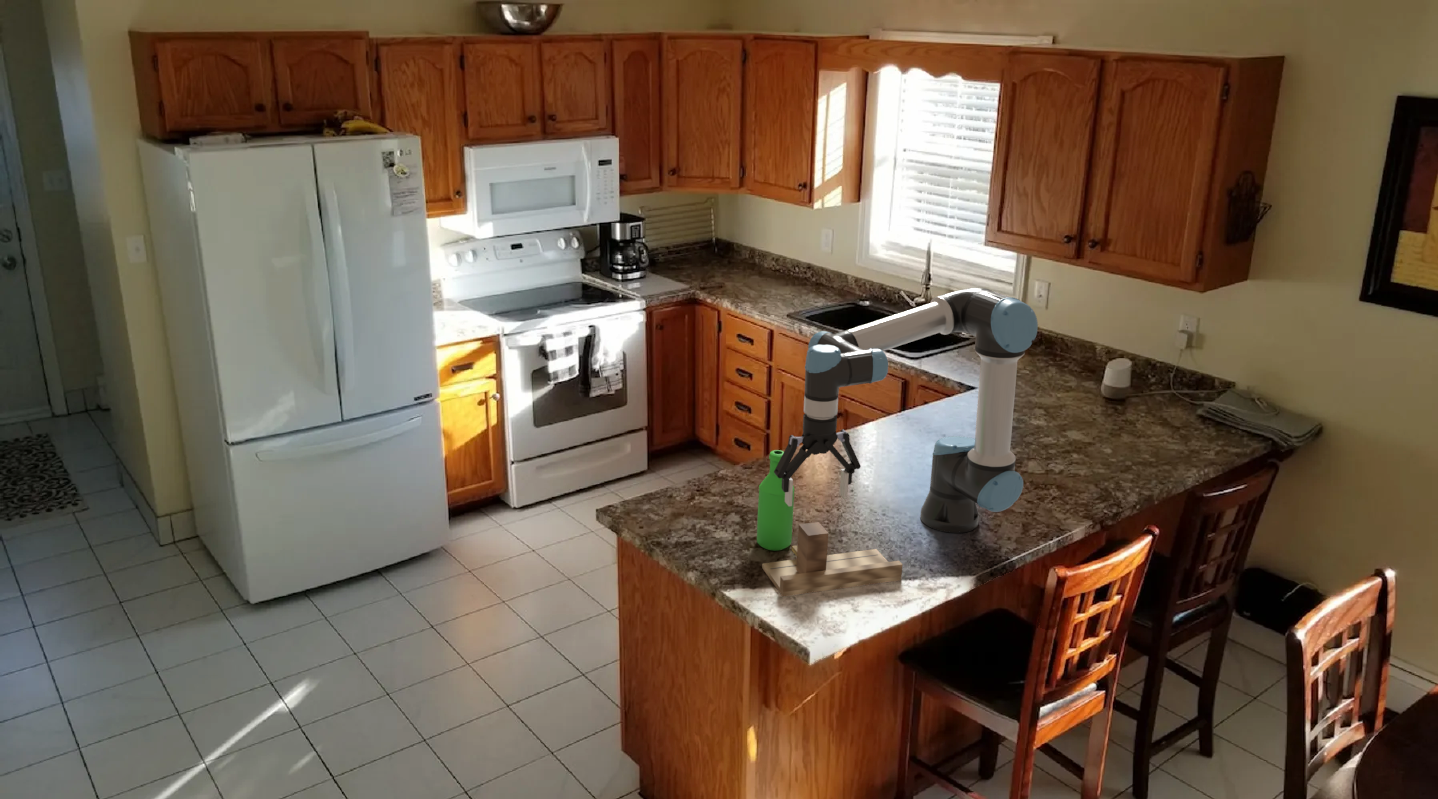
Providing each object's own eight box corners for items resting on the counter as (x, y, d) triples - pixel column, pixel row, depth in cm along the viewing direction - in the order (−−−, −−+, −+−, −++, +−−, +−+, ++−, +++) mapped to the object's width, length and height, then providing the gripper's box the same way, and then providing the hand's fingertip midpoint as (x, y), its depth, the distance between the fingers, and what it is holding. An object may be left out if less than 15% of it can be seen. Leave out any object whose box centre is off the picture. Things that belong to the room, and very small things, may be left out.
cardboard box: (803, 552, 264) (805, 507, 260) (825, 579, 252) (828, 533, 247) (784, 554, 263) (786, 509, 259) (805, 582, 250) (808, 535, 246)
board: (875, 553, 268) (877, 538, 266) (901, 580, 255) (902, 564, 254) (762, 567, 259) (762, 552, 258) (782, 596, 246) (783, 580, 245)
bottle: (751, 538, 273) (754, 447, 265) (782, 534, 276) (787, 443, 268) (764, 554, 266) (768, 461, 257) (796, 549, 268) (802, 457, 260)
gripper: (864, 403, 247) (859, 487, 254) (762, 413, 240) (759, 499, 247) (878, 414, 240) (872, 500, 247) (773, 425, 233) (770, 513, 240)
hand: (816, 500), depth 247 cm, fingers open, 13 cm apart
